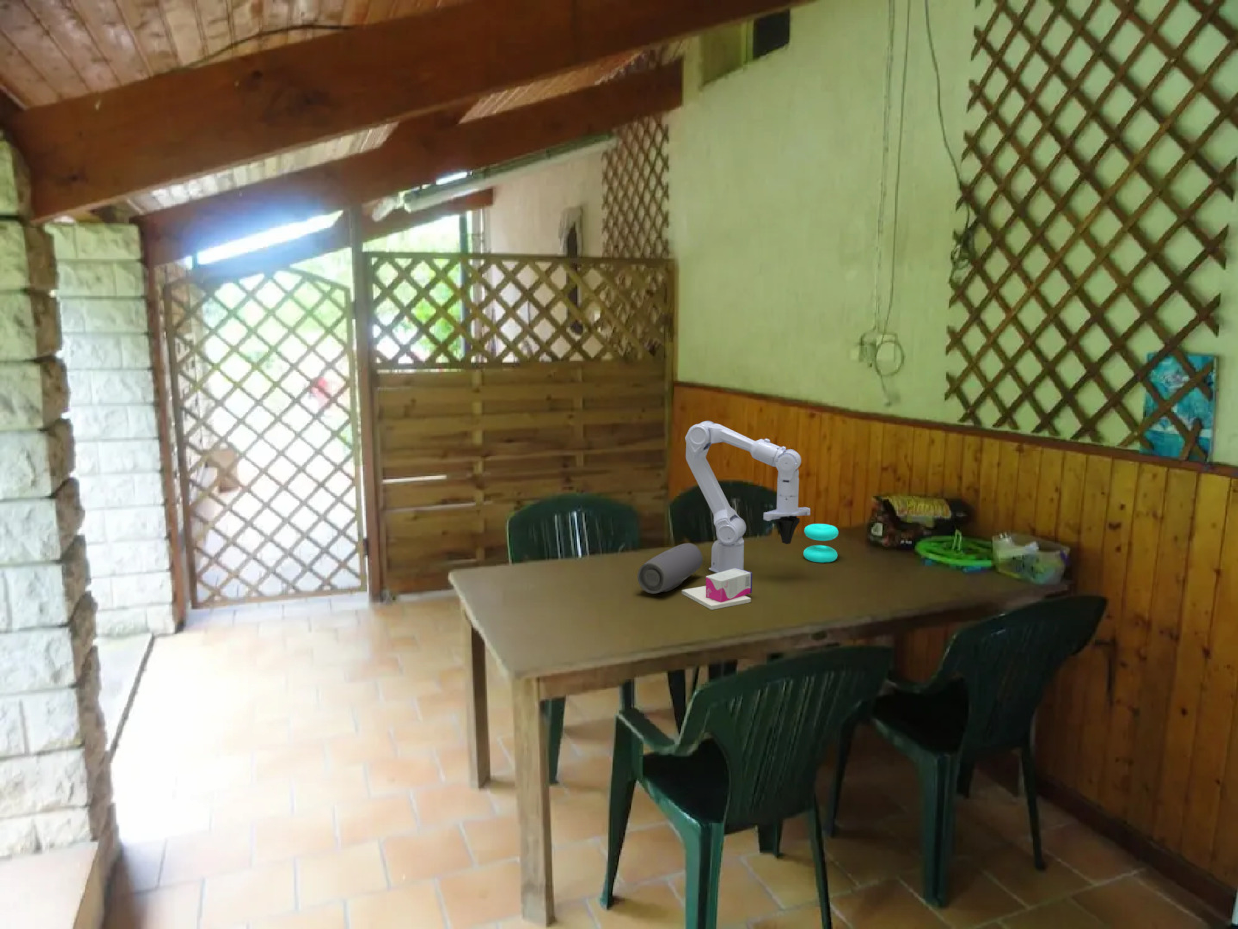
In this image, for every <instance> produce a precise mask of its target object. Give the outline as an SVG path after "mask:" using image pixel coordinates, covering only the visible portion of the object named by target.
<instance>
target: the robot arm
mask: <svg viewBox="0 0 1238 929" xmlns="http://www.w3.org/2000/svg"><path fill="white" fill-rule="evenodd" d="M684 438H685V443H686V445H685V447H686V448H685V460H686V462H687V464H688V467H689V468H690V470H691V473H692V474H693V477H694V479H695V480H696V483H697V485H698V487H699V489H700V490H701V493H702V494H703V496H704V499H705V501H706V502H707V504H708V507H709V509H710V510H711V513H712V515H713V525H714V526H715V532H716V533H715V534H716V535H715V536H716V538H717V540H715V541H714V542H713V544H712V546H711V567H709V568H708V570H709V571H711V572H713V573H714V574H716V573H720V572H723V571H727V570H730V569H734V568H739V569H742V570H744V565H745V564H744V559H745V558H744V556H745V554H744V553H745V550H744V549H745V540H744V539H743V536H744V534H745V533H746V531H747V525H746V522H745V520H744V519H743V518H742V517H740V516H739V515H738V513H737V511H736V510H735V509H734V508H733V507H731V506H730V503H729V501H728V499H727V497H726V495H725V494H724V492H723V490H722V488H721V485H720V484H719V482H718V481H719V480H717V478H716V475H715V473H714V471H713V470H712V467H711V466H710V463H709V461H708V460H707V454H708V452H709V449H710V447H711V446H712V444H718V443H726V444H727V445H731V446H733V447H736V448H739V449H741V450H745V451H747V452H749V453H750V455H751V457H752V458H753V459H754V460H757V461H759V462H761V463H764V464H766V465H768V466H770V467H775V468H776V469H777V471H778V472H777V480H776V481H777V484H776V487H777V488H776V489H777V490H776V509H773V510H769V511H767V512H766V511H765V512H763V521H767V522H768V521H769V522H771V520H774V522H775V524H776V526H777V528H778V531H779V535H780V540H781V543H783V544H785V545H789V544H791V542H792V539H793V535H794V533H795V531H796V528H797V527H798V525H799V523H800V521H801V519H800V518H799V517H800V516H810V515H811V508H810V507H806V506H803V507H799V490H800V488H799V485H800V478H799V475H800V473H799V472H800V471H799V467H800V466H801V464H802V457H801V455H800V454H799V453H798V452H797V451H796V450H795V449H791V448H790V449H789V448H788V449H787V447H786V446H784V445H783V446H779V445H777V444H774V443H772V442H771V440H770V439H769V438H764V439H763V438H760V439H758V440H753V439H752V438H749V437H748V436H745V435H743V434H741V433H739V432H736V431H735V430H732V429H730V428H728V427H726V426H724V425H722V424H719V423H715V422H713V421H711V420H705V421H701V422H700V423H696V424H694V425H692V426H690V427H689V429H688V431H687V433H686V435H685V437H684Z"/></svg>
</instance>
